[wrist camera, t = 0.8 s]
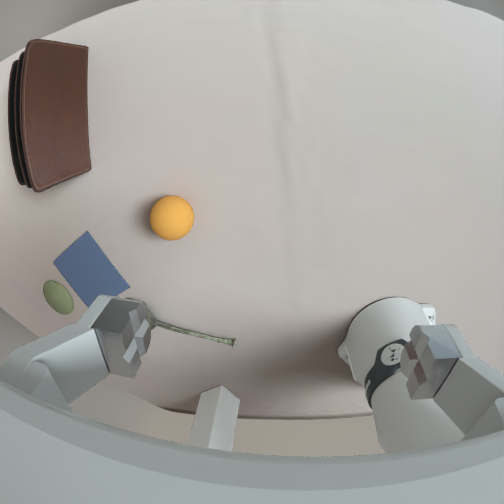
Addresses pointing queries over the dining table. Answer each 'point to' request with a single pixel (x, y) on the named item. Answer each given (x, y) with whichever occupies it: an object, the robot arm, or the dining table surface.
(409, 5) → the dining table surface
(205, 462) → the robot arm
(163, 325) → the soupspoon
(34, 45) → the letter holder
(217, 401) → the milk
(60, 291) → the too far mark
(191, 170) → the dining table surface
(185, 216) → the ball
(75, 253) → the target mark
